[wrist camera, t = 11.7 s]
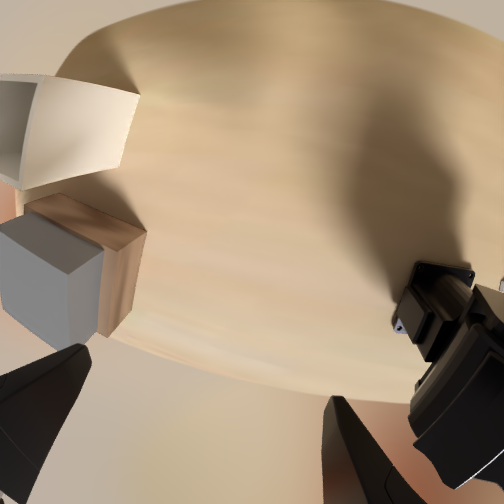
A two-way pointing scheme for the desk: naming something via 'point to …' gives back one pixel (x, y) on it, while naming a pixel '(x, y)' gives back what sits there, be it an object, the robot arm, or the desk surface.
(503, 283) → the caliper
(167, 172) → the desk surface
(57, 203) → the walnut block
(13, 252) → the gray block
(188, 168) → the desk surface
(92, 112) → the white open box
